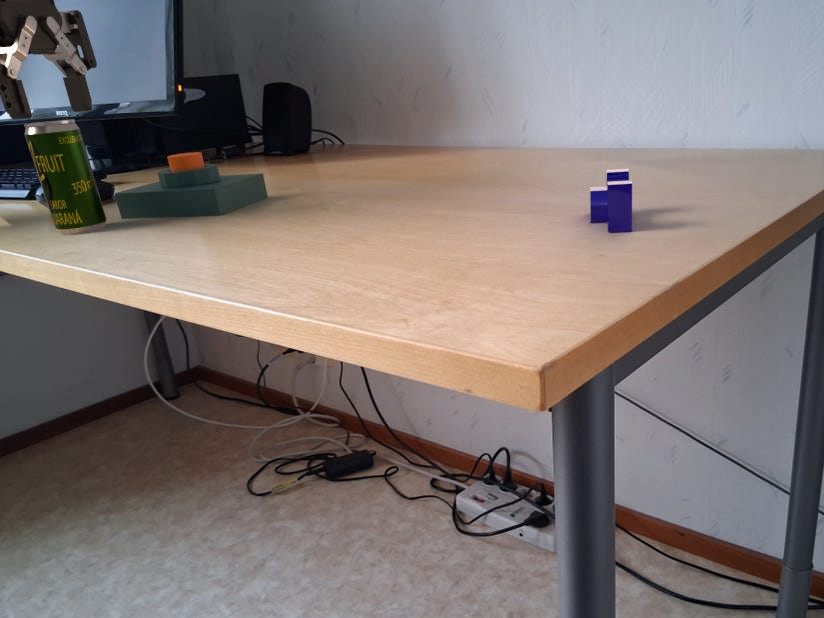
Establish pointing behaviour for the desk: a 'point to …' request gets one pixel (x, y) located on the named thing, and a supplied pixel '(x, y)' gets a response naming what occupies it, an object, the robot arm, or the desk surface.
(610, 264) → the desk surface
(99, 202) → the soda can
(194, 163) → the orange push button
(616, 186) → the cable holder
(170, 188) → the button base
